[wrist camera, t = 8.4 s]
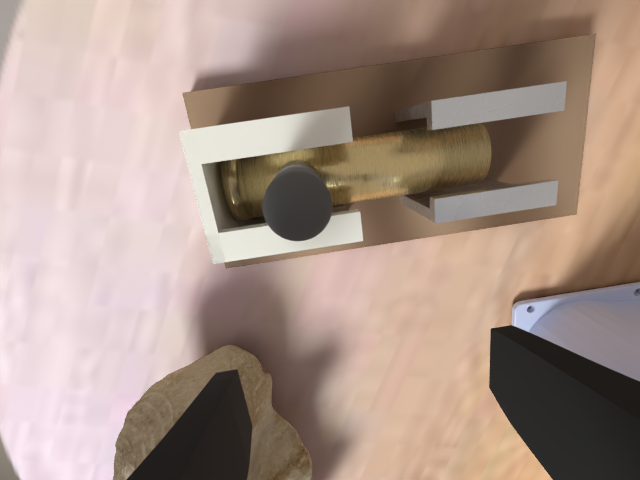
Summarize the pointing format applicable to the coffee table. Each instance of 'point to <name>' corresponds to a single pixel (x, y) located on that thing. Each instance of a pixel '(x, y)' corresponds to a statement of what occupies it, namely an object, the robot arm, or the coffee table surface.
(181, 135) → the socket block
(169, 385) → the sculpture
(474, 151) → the brass bolt
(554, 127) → the guide board
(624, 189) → the coffee table surface
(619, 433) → the robot arm
